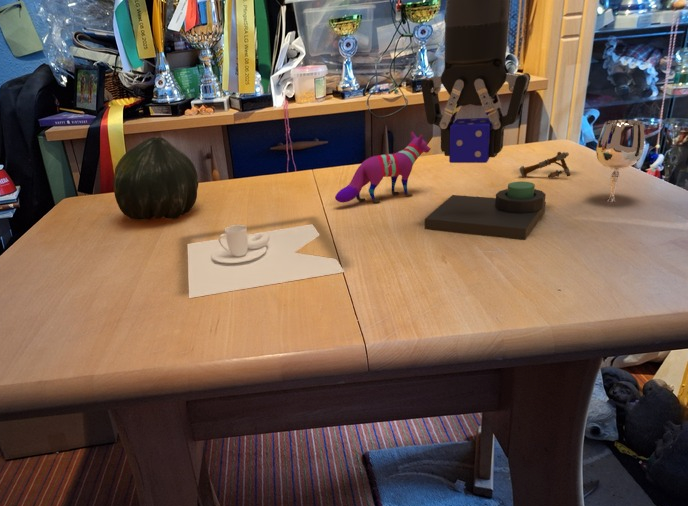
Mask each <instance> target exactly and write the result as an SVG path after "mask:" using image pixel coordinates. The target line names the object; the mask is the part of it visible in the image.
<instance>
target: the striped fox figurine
mask: <svg viewBox="0 0 688 506" xmlns="http://www.w3.org/2000/svg"><path fill="white" fill-rule="evenodd" d="M423 135H424V134H420V135H419V137H418V136H417V135H416V134H415V133H414V131H411V132H410V136H411V137H410V138H411V141H410V142H409V144H408V145H407V146H406V147H405V148H404V149H401V150H399V151H397V152H396V153H394V152H393V153H387V154H379V155H373V156H370V157H368V158H366V159H365V160H363V161H362V162H361V164H360V165H359V166H358V167H357V168H356V170H355V172H354V174H353V176H352V178H351V180H350V182H349V184H348V185H346V186H345V187H343V188H341V189H340V190H339V191H337V193H336V194H335V196H334V199H335V201H337V202H339V203H343V204H344V203H348V202H351V201H353V200H354V199H355V198H356V200H357V201H358V202H360V203H361V202H362V203H364V202H367V199H366V198H365V197H363V198H361V196H360V194H361V191H362V189H363V187H365V186H366V185H367V184H370V185H369V188H368V193H369V196H370V199H371V201H372V203H373V204H380V203H381V200H380V199H376V196H375V190H376V189H377V187H378V186H379V185H380V183H381V182H382V180H383V178H390V180H391V194H392V195H394V196H397V195H399V194H400V192H399V191H397V190H396V191H395V187H396V183H397V180H398V177H399V176H401V179H400V180H401V184H402V188H403V193H404V196H405V197H406V198H412V197H413V193H408V180H409V177H410V175H411V172H412V171H413V167H414V165H415V162H416V161H417V160H418V159H419V157H420V156H421V155H422V154H423V153H430V151H431V150H432V148H431V147H430V146H428V142H427V141H426V140H425V139H423V138H424V137H423Z"/></svg>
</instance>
